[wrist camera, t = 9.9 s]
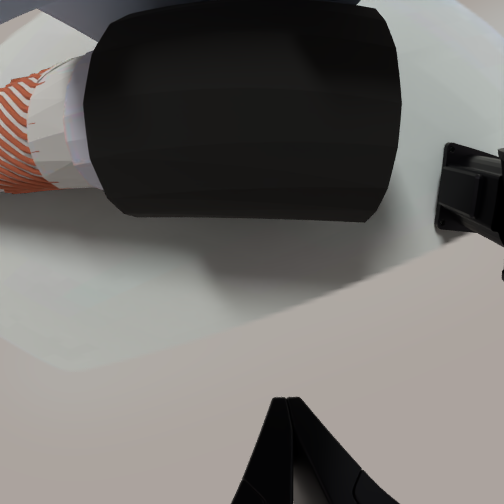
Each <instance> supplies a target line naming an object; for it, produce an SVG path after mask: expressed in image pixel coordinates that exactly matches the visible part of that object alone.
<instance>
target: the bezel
mask: <svg viewBox="0 0 504 504" xmlns="http://www.w3.org/2000/svg"><path fill="white" fill-rule="evenodd" d="M201 1H211V0H0V24H2V23H4V22H6V21H9V20H11V19H12V18H15V17H17V16H19V15H22V14H24V13H27V12H29V11H32V10H34V9H36V8H37V9H39V10H41V11H43V12H45V13H47V14H49V15H50V16H52V17H54V18H56V19H58V20H60V21H62V22H64V23H65V24H67V25H69V26H71V27H73V28H74V29H76V30H78V31H80V32H81V33H83V34H85V35H87V36H88V37H90V38H92V39H93V40H95V41H97V42H99V40H100V39H101V37H102V35H103V34H104V32H105V31H106V29H107V27H108V26H109V24H110V23H112V22H114V21H116V20H118V19H120V18H122V17H124V16H126V15H128V14H131V13H136V12H140V11H145V10H150V9H155V8H160V7H166V6H172V5H178V4H185V3H193V2H201ZM318 1H328V2H337V3H344V4H351V5H357V4H358V3H359V2H360V0H318Z"/></svg>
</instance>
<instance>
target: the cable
mask: <svg viewBox="0 0 504 504" xmlns="http://www.w3.org/2000/svg"><path fill="white" fill-rule="evenodd" d="M401 107H402V100H401V88H400V77H399V68H398V60H397V52H396V47H395V44H394V41H393V39H392V36H391V34H390V31H389V28H388V26H387V23H386V21H385V20H384V18H383V17H382V16H381V15H380V14H379V12H378V11H377V10H376V9H374V8H369V7H364V6H358V5H351V4H344V3H337V2H328V1H318V0H211V1H201V2H193V3H185V4H178V5H172V6H166V7H160V8H155V9H150V10H145V11H140V12H136V13H131V14H128V15H126V16H124V17H122V18H120V19H118V20H116V21H114V22H112V23H110V24H109V26H108V27H107V29H106V31H105V32H104V34H103V35H102V37H101V39H100V40H99V42H98V44H97V46H96V47H95V49H94V50H93V51H91V52H88V53H86V54H85V55H83V56H80V57H76V58H72V59H69V60H67V61H64V62H61V63H58V64H56V65H54V66H53V67H51V68H48V69H44V70H41V71H40V72H39V73H38V74H35V73H34V74H31V75H30V76H29V77H23V78H17V79H12V80H11V83H10V84H8V85H6V87H5V88H0V192H3V191H5V193H12V194H19V193H20V194H21V193H29V192H38V191H46V190H60V189H70V188H91V187H95V188H98V189H101V190H103V191H104V192H105V194H106V196H107V198H108V199H109V200H110V201H111V202H112V203H113V204H114V205H115V206H116V207H117V208H118V209H119V210H121V211H122V212H123V213H124V214H127V215H131V216H135V217H214V218H263V219H296V220H322V221H344V222H364V223H365V222H366V221H367V220H368V219H369V218H370V217H371V216H372V215H373V214H374V213H375V212H376V211H377V209H378V207H379V205H380V203H381V201H382V199H383V197H384V195H385V193H386V191H387V189H388V185H389V181H390V177H391V173H392V169H393V165H394V161H395V157H396V153H397V148H398V140H399V130H400V120H401Z"/></svg>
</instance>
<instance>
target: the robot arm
mask: <svg viewBox="0 0 504 504" xmlns="http://www.w3.org/2000/svg"><path fill="white" fill-rule="evenodd" d="M450 147H451V148H452V151H450ZM498 155H499V157H497V156H494V155H491V154H488V153H485V152H482V151H479V150H476V149H472V148H469V147H466V146H462V145H459V144H455V143H446V145H445V147H444V158H443V168H442V174H441V182H440V190H439V197H438V205H437V212H436V217H435V226H436V227H438V228H439V229H444V230H454V231H464V232H473V233H478V234H480V235H482V236H484V237H486V238H488V239H490V240H492V241H494V242H495V243H497V244H499V245H501V246H502V247H504V148H501V149H498ZM441 220H442V223H441V224H440V221H441ZM502 280H503V281H504V270H503V271H502ZM293 501H294V504H399V503H398V502H397V501H396V500H394V499H393V498H392V497H391V496H390V495H388V494H387V493H386V492H385V491H384V490H383V489H381V488H380V487H379V486H378V485H377V484H376V483H375V482H374V481H373V480H372V479H371V478H370V477H369V476H368V474H367V473H366V472H365V471H364V470H362V468H361V467H360V466H359V465H358V464H357V462H356V461H355V460H354V459H353V458H352V457H351V456H350V455H349V454H348V453H347V451H346V450H345V449H344V448H343V447H342V446H341V445H340V443H339V442H338V441H337V440H336V439H335V438H334V437H333V436H332V434H331V433H330V432H329V431H328V430H327V428H326V427H325V426H324V425H323V424H322V423H321V421H320V420H319V419H318V418H317V417H316V416H315V415H314V414H313V412H312V411H311V410H310V408H309V407H308V406H307V405H306V404H305V402H304V401H303V400H302V399H301V398H300V397H288V398H287V399H286V398H285V397H275V398H273V399H272V401H271V404H270V406H269V410H268V412H267V415H266V418H265V420H264V423H263V426H262V429H261V432H260V434H259V437H258V440H257V442H256V445H255V447H254V450H253V453H252V455H251V458H250V461H249V463H248V465H247V468H246V470H245V473H244V476H243V478H242V481H241V483H240V485H239V487H238V490H237V492H236V494H235V496H234V498H233V500H232V503H231V504H293Z"/></svg>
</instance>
